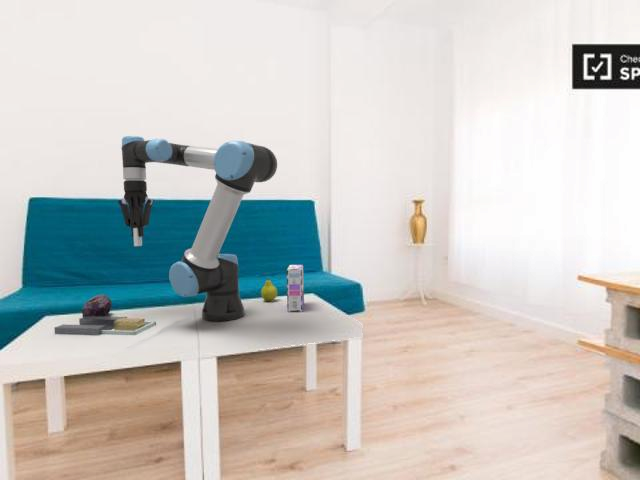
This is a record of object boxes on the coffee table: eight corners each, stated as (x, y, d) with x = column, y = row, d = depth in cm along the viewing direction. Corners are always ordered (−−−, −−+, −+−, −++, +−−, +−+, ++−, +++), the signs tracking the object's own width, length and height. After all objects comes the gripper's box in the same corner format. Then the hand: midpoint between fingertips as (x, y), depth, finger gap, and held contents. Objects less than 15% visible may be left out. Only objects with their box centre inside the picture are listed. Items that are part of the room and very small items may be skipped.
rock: (78, 328, 143) (110, 325, 146) (75, 305, 142) (106, 302, 144) (89, 315, 155) (118, 312, 157) (86, 293, 153) (115, 291, 155)
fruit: (279, 299, 179) (278, 271, 179) (275, 302, 173) (275, 274, 172) (263, 299, 180) (262, 272, 179) (259, 302, 173) (258, 274, 172)
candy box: (302, 312, 156) (301, 268, 155) (287, 312, 156) (286, 268, 155) (304, 303, 169) (303, 264, 168) (290, 304, 170) (289, 264, 168)
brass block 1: (133, 330, 133) (133, 318, 133) (126, 334, 129) (125, 321, 129) (122, 330, 134) (121, 318, 133) (114, 333, 130) (113, 321, 129)
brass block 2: (145, 330, 132) (144, 318, 132) (137, 334, 128) (137, 321, 128) (133, 330, 133) (133, 318, 133) (126, 334, 129) (125, 321, 129)
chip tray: (156, 329, 136) (155, 321, 136) (135, 339, 125) (134, 331, 124) (125, 328, 138) (124, 320, 138) (101, 338, 126) (101, 330, 126)
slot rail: (127, 327, 139) (127, 317, 139) (99, 340, 125) (98, 328, 125) (87, 326, 141) (86, 316, 141) (55, 338, 127) (54, 327, 127)
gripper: (157, 180, 152) (160, 244, 153) (124, 181, 154) (128, 245, 155) (145, 179, 144) (149, 246, 146) (111, 180, 146) (115, 246, 148)
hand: (138, 245), depth 150 cm, fingers closed
